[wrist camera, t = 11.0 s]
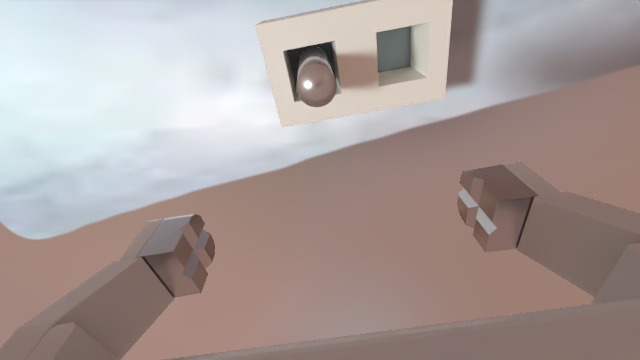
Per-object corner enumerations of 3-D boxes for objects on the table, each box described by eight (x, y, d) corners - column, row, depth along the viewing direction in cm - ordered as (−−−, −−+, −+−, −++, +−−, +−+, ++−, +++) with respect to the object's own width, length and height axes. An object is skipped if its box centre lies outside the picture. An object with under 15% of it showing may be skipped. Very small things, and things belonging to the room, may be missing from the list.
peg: (325, 43, 28) (333, 62, 20) (329, 74, 30) (339, 103, 21) (296, 49, 28) (292, 70, 20) (302, 79, 30) (301, 110, 21)
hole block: (429, -13, 26) (454, -16, 22) (426, 84, 31) (445, 98, 26) (262, 21, 27) (255, 25, 22) (285, 110, 32) (282, 127, 27)
